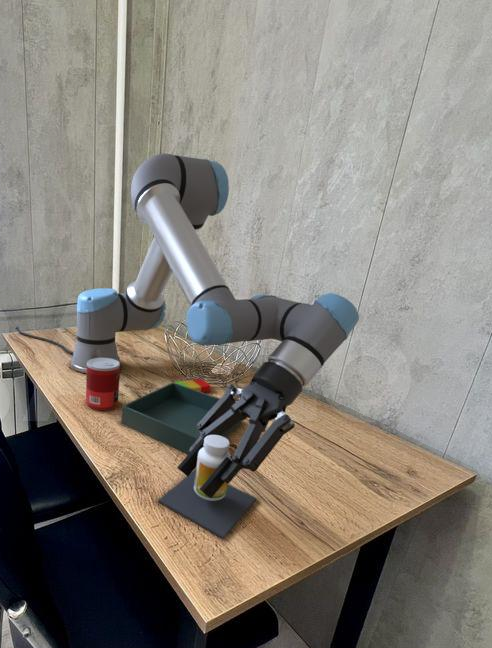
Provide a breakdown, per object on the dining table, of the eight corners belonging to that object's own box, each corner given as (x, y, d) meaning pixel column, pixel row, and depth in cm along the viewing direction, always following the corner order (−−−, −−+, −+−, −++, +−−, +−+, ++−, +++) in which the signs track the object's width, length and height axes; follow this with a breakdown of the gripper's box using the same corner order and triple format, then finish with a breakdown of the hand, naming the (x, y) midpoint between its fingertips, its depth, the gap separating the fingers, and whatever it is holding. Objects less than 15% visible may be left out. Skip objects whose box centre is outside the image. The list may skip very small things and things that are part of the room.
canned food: (121, 409, 97) (123, 367, 93) (88, 412, 95) (89, 369, 91) (114, 396, 104) (115, 356, 100) (83, 398, 102) (84, 358, 98)
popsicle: (211, 391, 111) (212, 385, 110) (163, 398, 105) (164, 392, 104) (201, 384, 115) (201, 378, 115) (154, 390, 110) (155, 384, 109)
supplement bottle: (230, 500, 65) (239, 449, 61) (199, 503, 64) (206, 450, 60) (219, 480, 70) (226, 431, 66) (189, 481, 69) (195, 432, 65)
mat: (158, 502, 66) (158, 499, 66) (195, 471, 75) (195, 469, 75) (223, 539, 60) (223, 536, 59) (255, 500, 68) (256, 498, 68)
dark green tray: (121, 423, 91) (122, 406, 89) (171, 397, 106) (172, 382, 104) (197, 458, 79) (200, 439, 78) (241, 423, 94) (244, 407, 93)
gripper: (340, 409, 61) (243, 528, 59) (253, 368, 75) (173, 462, 74) (326, 382, 56) (220, 510, 54) (236, 344, 71) (151, 443, 69)
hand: (193, 482), depth 64 cm, fingers closed on supplement bottle, 5 cm apart
